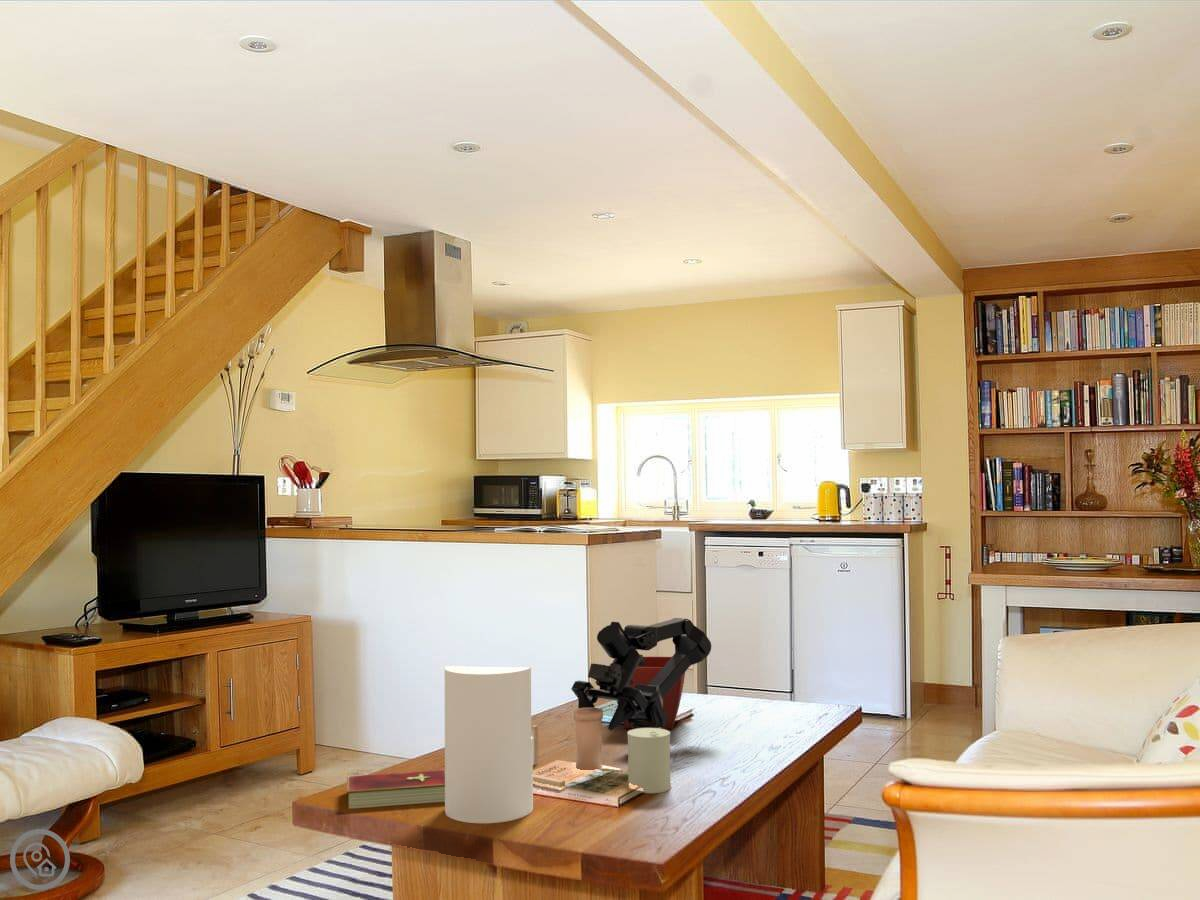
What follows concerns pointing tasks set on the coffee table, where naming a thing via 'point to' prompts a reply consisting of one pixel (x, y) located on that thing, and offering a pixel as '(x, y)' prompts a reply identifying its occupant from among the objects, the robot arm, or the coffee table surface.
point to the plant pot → (671, 699)
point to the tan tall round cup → (588, 738)
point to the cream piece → (535, 762)
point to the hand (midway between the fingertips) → (593, 726)
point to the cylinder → (488, 744)
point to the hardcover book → (396, 789)
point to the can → (649, 759)
